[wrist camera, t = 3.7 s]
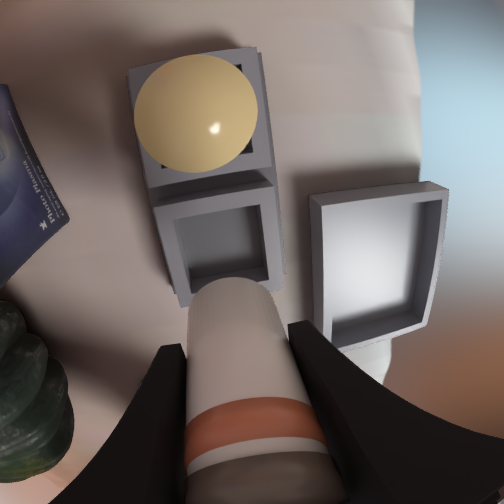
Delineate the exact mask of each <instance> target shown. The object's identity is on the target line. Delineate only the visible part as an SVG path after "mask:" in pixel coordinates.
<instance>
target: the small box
mask: <svg viewBox="0 0 504 504" xmlns="http://www.w3.org/2000/svg"><path fill="white" fill-rule="evenodd" d="M69 220H70V218H69V216H68V214H67V212H66V211H65V209H64V207H63V206H62V204H61V202H60V200H59V199H58V197H57V195H56V193H55V191H54V189H53V188H52V186H51V184H50V182H49V180H48V178H47V176H46V174H45V172H44V170H43V168H42V167H41V165H40V163H39V161H38V158H37V156H36V154H35V152H34V150H33V148H32V146H31V144H30V142H29V139H28V137H27V135H26V132H25V130H24V128H23V126H22V123H21V121H20V119H19V116H18V114H17V111H16V109H15V106H14V103H13V101H12V98H11V95H10V93H9V90H8V87H7V85H6V84H0V289H1V287H2V286H3V285H4V284H5V283H6V282H7V281H8V280H9V279H10V278H11V276H12V275H13V274H14V273H15V272H16V271H17V270H18V269H19V268H20V267H21V266H22V265H23V264H24V263H25V262H26V261H27V260H28V259H29V258H30V257H31V256H32V255H33V254H34V253H35V252H36V251H37V250H38V249H39V248H40V247H41V246H42V245H43V244H44V243H45V242H46V241H47V240H48V239H50V238H51V237H52V236H53V235H54V234H55V233H56V232H58V230H59V229H61V228H62V227H63V226H64V225H65V224H66V223H68V222H69Z"/></svg>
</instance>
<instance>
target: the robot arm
mask: <svg viewBox="0 0 504 504" xmlns="http://www.w3.org/2000/svg"><path fill="white" fill-rule="evenodd" d="M288 335H289V344H290V347H291V349H292V352H293V355H294V358H295V360H296V363H297V366H298V369H299V371H300V374H301V377H302V380H303V383H304V385H305V388H306V391H307V394H308V396H309V399H310V402H311V405H312V408H313V409H314V410H315V411H316V413H317V415H318V418H319V421H320V424H321V426H322V429H323V432H324V434H325V437H326V440H327V443H328V446H329V448H330V455H331V456H332V457H334V458H335V459H336V461H337V463H338V466H339V469H340V472H341V474H342V477H343V480H344V482H345V485H346V488H347V491H348V493H349V496H350V499H351V500H350V502H349V503H348V504H504V499H503V500H502V501H501V502H500V503H497V502H496V501H497V500H498V499H499V498H500V494H499V492H498V490H499V489H500V488H501V487H503V486H504V439H501V438H497V437H493V436H489V435H485V434H481V433H477V432H474V431H471V430H469V429H466V428H463V427H460V426H458V425H455V424H452V423H450V422H448V421H446V420H443V419H441V418H439V417H437V416H435V415H432V414H430V413H428V412H426V411H424V410H422V409H420V408H418V407H417V406H415V405H413V404H411V403H409V402H408V401H406V400H404V399H403V398H401V397H399V396H398V395H396V394H395V393H393V392H391V391H390V390H389V389H387V388H386V387H384V386H383V385H381V384H380V383H378V382H377V381H376V380H374V379H373V378H372V377H370V376H369V375H368V374H366V373H365V372H364V371H363V370H361V369H360V368H359V367H358V366H356V365H355V364H354V363H353V362H352V361H351V360H350V359H348V358H347V357H346V356H345V355H344V354H343V353H341V352H340V351H339V350H338V349H337V348H336V347H335V346H334V345H333V344H332V343H331V342H330V341H329V340H328V339H327V338H326V337H325V336H324V335H323V334H322V333H321V332H320V331H319V330H318V329H317V328H316V327H315V326H314V325H313V324H312V323H311V322H310V321H308V320H304V321H300V322H295V323H291V324H288ZM185 428H186V357H185V354H184V352H183V349H182V346H181V344H180V343H178V344H171V345H164V346H161V347H160V348H159V350H158V352H157V354H156V356H155V358H154V360H153V362H152V364H151V366H150V368H149V370H148V372H147V374H146V375H145V377H144V379H143V381H142V382H141V383H140V385H139V389H138V390H137V392H136V394H135V396H134V398H133V399H132V401H131V403H130V405H129V406H128V408H127V410H126V411H125V413H124V414H123V416H122V418H121V419H120V421H119V423H118V424H117V426H116V427H115V429H114V430H113V432H112V433H111V435H110V436H109V438H108V439H107V440H106V442H105V443H104V444H103V446H102V447H101V448H100V450H99V451H98V452H97V454H96V455H95V456H94V457H93V458H92V460H91V461H90V462H89V463H88V465H87V466H86V467H85V468H84V469H83V470H82V471H81V473H80V474H79V475H78V476H77V477H76V478H75V479H74V480H73V481H72V482H71V483H70V484H69V485H68V486H67V487H66V488H65V489H64V490H63V491H62V492H61V493H60V494H59V495H57V496H56V497H55V498H54V499H53V500H52V501H51V502H50V503H48V504H184V500H183V482H184V480H185V479H186V478H187V476H186V474H185V466H184V431H185Z"/></svg>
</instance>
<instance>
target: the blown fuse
mask: <svg viewBox="0 0 504 504" xmlns="http://www.w3.org/2000/svg"><path fill="white" fill-rule="evenodd" d="M184 466H185V474H186V476H187V478H186V479H185V480H184V482H183V500H184V504H348V503H349V502H350V500H351V499H350V496H349V493H348V491H347V488H346V485H345V482H344V480H343V477H342V474H341V472H340V469H339V466H338V463H337V461H336V459H335V458H334V457H332V456H331V455H330V448H329V446H328V443H327V440H326V437H325V434H324V432H323V429H322V426H321V424H320V421H319V418H318V415H317V413H316V411H315V410H314V409H313V408H312V405H311V402H310V399H309V396H308V394H307V391H306V388H305V385H304V383H303V380H302V377H301V374H300V371H299V369H298V366H297V363H296V360H295V358H294V355H293V352H292V349H291V347H290V344H289V341H288V338H287V335H286V333H285V330H284V327H283V324H282V322H281V319H280V316H279V313H278V311H277V308H276V305H275V302H274V300H273V297H272V296H271V294H270V293H269V291H268V290H267V289H266V288H265V287H264V286H262V285H261V284H259V283H257V282H255V281H253V280H250V279H246V278H240V277H229V278H222V279H218V280H216V281H213V282H211V283H209V284H207V285H206V286H204V287H203V288H201V289H200V290H199V291H198V292H197V293H196V294H195V296H194V297H193V299H192V301H191V303H190V306H189V311H188V329H187V358H186V428H185V431H184Z"/></svg>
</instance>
